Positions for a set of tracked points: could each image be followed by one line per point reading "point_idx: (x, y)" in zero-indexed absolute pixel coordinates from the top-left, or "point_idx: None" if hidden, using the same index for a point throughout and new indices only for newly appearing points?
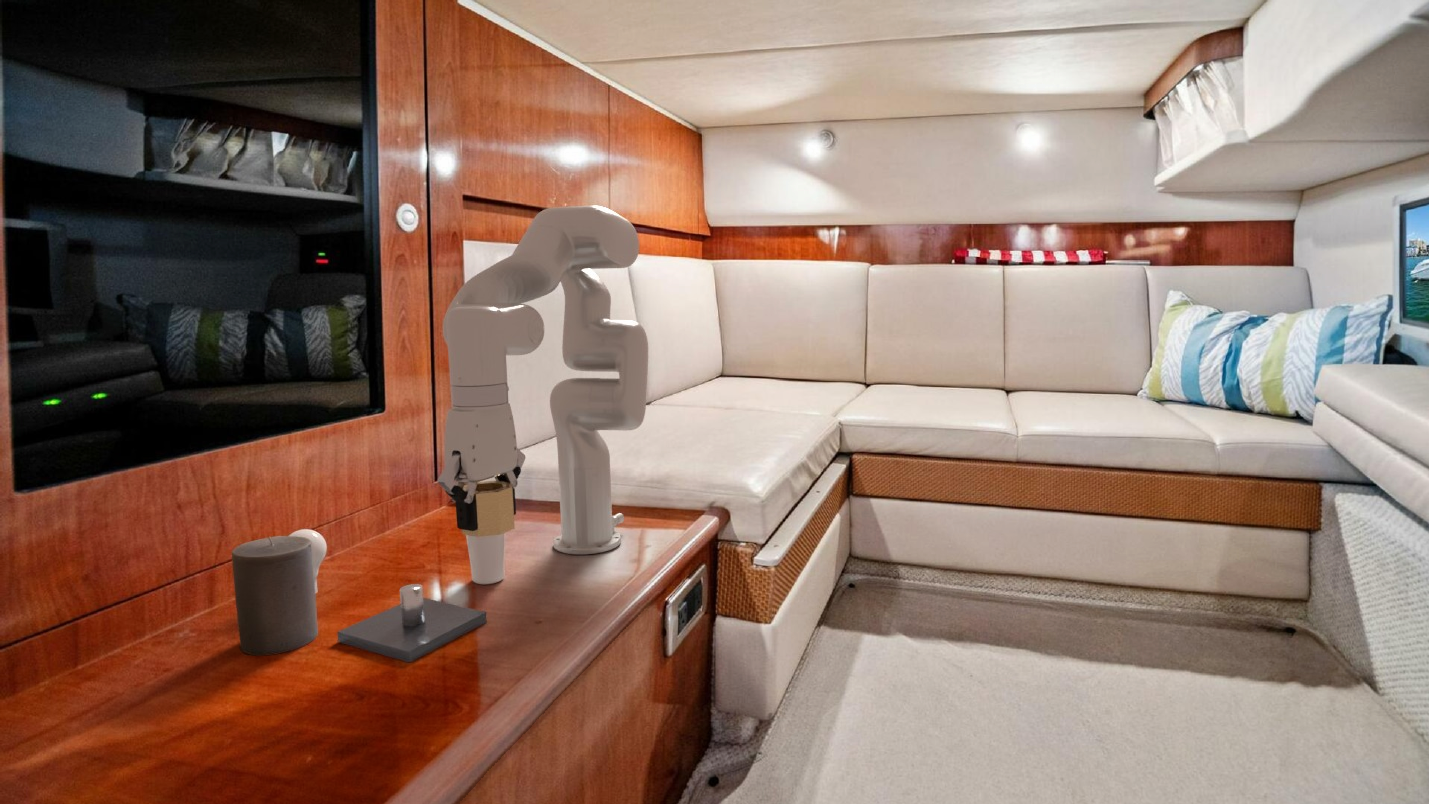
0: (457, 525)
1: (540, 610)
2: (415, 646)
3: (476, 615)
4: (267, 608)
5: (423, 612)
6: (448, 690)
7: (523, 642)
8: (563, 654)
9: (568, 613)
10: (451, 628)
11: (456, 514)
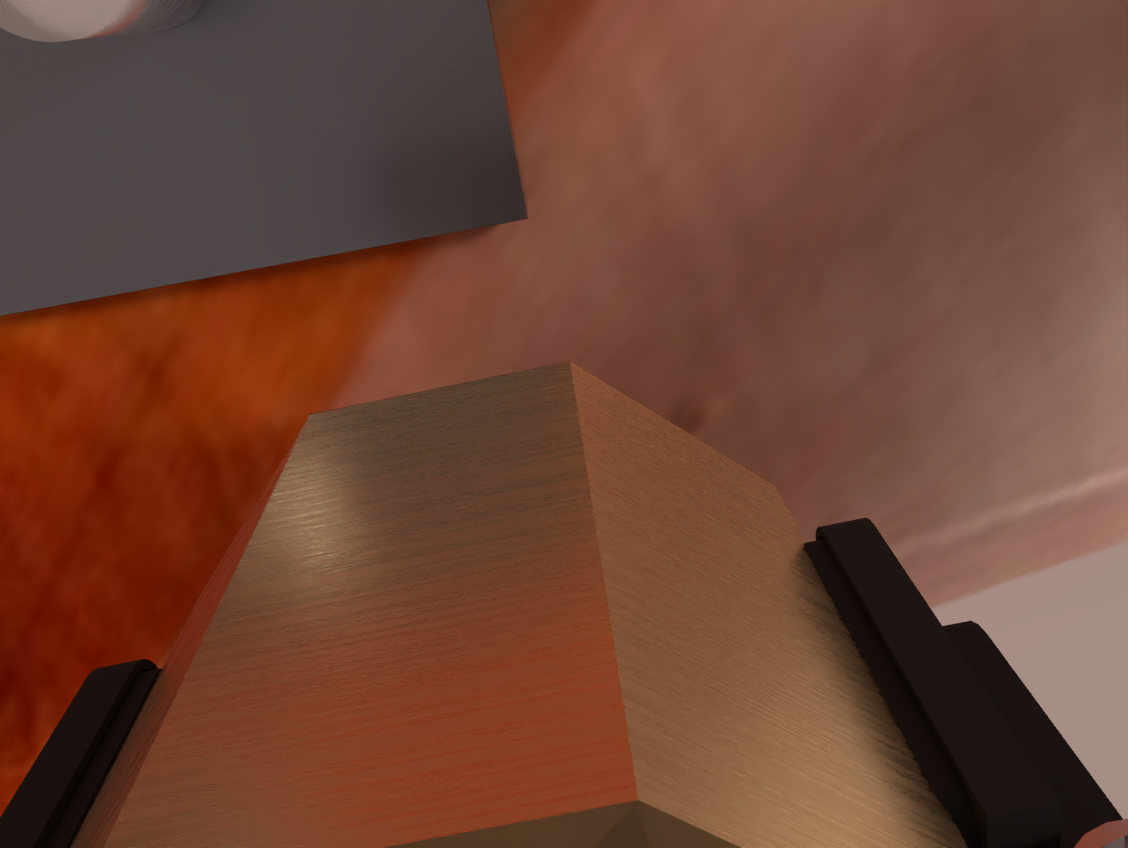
0: (89, 682)
1: (798, 315)
2: (17, 296)
3: (463, 212)
4: None
5: (173, 17)
6: (44, 629)
7: None
8: None
9: (839, 454)
10: (267, 253)
11: (16, 794)
